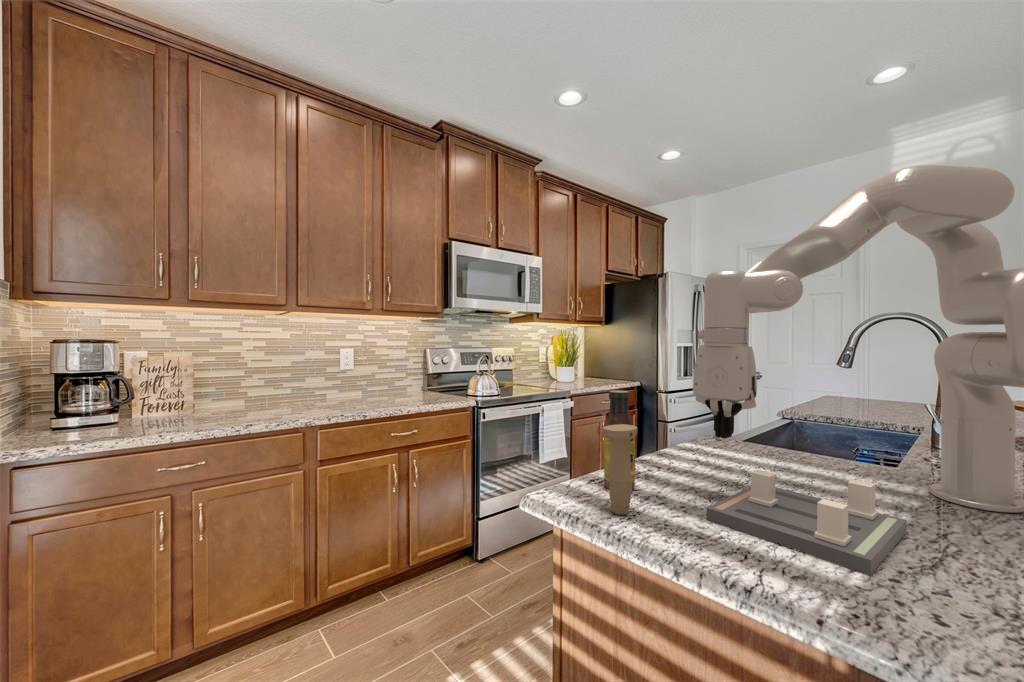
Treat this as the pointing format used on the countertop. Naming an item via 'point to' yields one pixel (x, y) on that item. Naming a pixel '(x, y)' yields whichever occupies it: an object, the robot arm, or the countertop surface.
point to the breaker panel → (810, 528)
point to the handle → (620, 466)
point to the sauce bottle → (616, 416)
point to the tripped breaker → (763, 488)
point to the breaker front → (832, 522)
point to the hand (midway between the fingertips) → (723, 436)
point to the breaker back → (861, 499)
